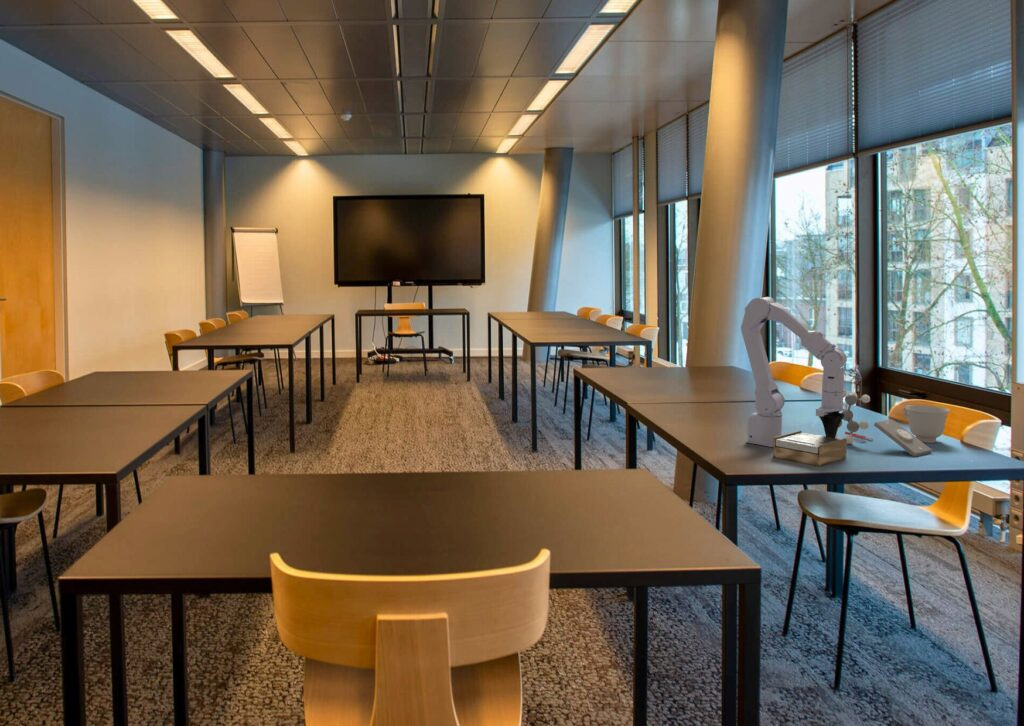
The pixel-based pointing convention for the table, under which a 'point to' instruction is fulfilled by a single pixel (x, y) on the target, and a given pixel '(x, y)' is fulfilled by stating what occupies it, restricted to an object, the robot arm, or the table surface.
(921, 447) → the light switch
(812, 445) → the cover plate
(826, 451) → the oak box
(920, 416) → the teacup
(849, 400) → the molecule model
